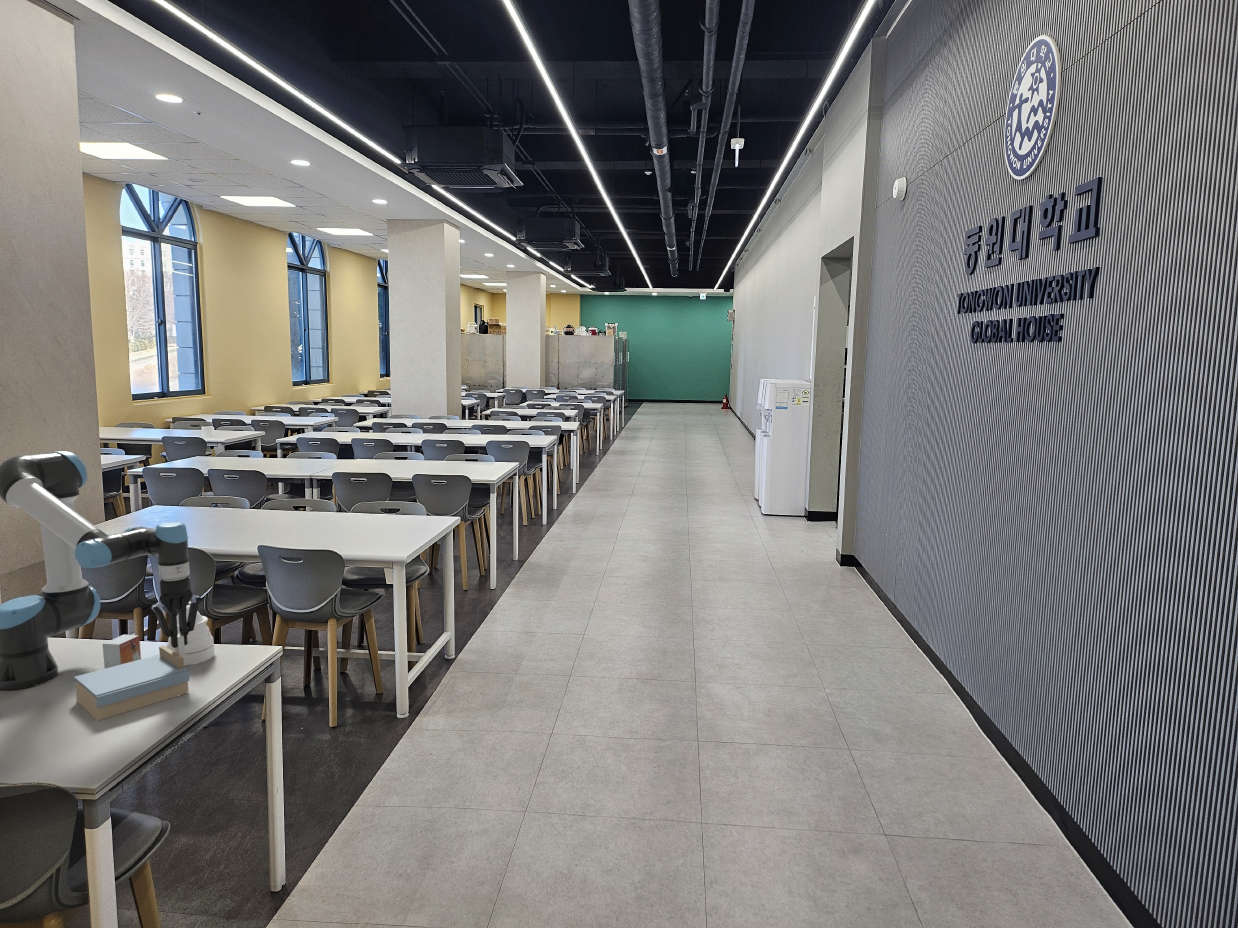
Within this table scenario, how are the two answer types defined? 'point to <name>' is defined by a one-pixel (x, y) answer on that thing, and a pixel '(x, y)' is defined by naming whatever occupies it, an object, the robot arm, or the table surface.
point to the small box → (121, 650)
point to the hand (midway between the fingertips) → (180, 656)
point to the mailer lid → (135, 677)
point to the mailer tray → (126, 700)
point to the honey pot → (196, 641)
